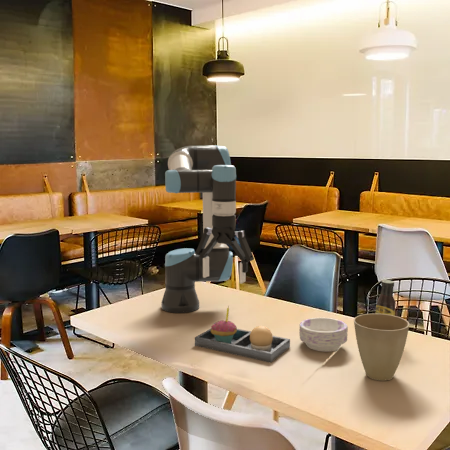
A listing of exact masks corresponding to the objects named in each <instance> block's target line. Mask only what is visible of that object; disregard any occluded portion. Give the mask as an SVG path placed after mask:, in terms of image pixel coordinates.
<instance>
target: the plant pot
mask: <svg viewBox="0 0 450 450" xmlns="http://www.w3.org/2000/svg"><path fill="white" fill-rule="evenodd" d="M353 324H354V332H355V338H356V339H355V340H356V344H357V348H358V353H359V357H360V360H361V364H362V366H363V370H364V372H365V374H366V377H368V378H370V379H372V380H374V381H390V380H392V379H394V375H395V374H396V371H397V369H398V367H399V365H400V362H401V360H402V356H403V354H404V349H405V347H406V344H407V343H406V342H407V339H408V334H409V330H410V329H409V328H410V322H409V321H408V320H406V319H405V318H402V317H400V316H396V315H395V316H393V315H388V314H376V313H364V314H359V315H357V316H355V317H354V319H353Z"/></svg>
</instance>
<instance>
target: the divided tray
mask: <svg viewBox="0 0 450 450" xmlns="http://www.w3.org/2000/svg"><path fill="white" fill-rule="evenodd" d="M251 331H252V330H251ZM251 331H250V330H245V329H241V328H237V332H236V333H235V334H234V335H233V338H232V341H231V343H230V344H229V343H224V342H220V341H216V339H215V336H214V334H212V333H211V328H209V329H207V330H206V331H204V332H202V333H200V334H199V335H197V336H195V337H194V347H198V348H204V349H208V350H212V351H217V352H221V353H225V354H230V355H235V356H239V357H245V358H249V359H253V360H257V361H261V362H266V363H271V364H272V362H274V361H275V360H276V359H278V358H279V357H281V355H282V354H284V353H285V352H286V351H287V350H289V349H290V348H291V339H290V338H286V337H281V336H276V335H273V340H272V343H271V351H270V352H267V351H262V350H257V349H253V348H251V342H250V333H251Z"/></svg>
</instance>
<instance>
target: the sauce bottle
mask: <svg viewBox="0 0 450 450" xmlns="http://www.w3.org/2000/svg"><path fill="white" fill-rule="evenodd" d="M380 285H381V291H380V295H379V297H378V299H377V301H376V305H375V314H388V315H393V316H396V305H397V304H396V300H395V298H394V287H395V281H393V280H389V279H383V280H381V284H380Z"/></svg>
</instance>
